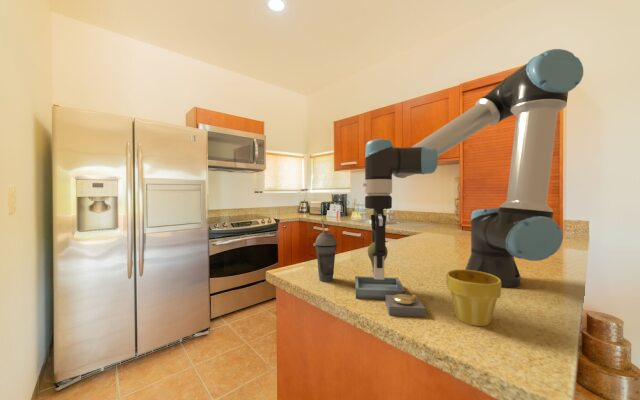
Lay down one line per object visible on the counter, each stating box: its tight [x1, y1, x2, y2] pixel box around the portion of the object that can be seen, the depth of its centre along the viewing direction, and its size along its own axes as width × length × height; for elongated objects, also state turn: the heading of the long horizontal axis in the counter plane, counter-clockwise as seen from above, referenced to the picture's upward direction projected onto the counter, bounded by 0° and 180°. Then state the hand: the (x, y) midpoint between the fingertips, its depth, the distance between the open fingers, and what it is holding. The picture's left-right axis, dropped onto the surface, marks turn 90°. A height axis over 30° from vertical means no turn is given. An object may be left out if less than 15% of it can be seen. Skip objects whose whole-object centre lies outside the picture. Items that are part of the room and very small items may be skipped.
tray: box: [354, 275, 407, 301], centre depth 74 cm, size 13×11×2 cm
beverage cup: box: [314, 218, 338, 283], centre depth 84 cm, size 7×7×20 cm
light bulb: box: [367, 242, 388, 275], centre depth 74 cm, size 6×6×10 cm
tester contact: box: [393, 293, 415, 305], centre depth 62 cm, size 5×5×1 cm
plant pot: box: [446, 269, 502, 327], centre depth 57 cm, size 10×10×10 cm
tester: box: [384, 294, 426, 318], centre depth 62 cm, size 8×7×3 cm
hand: (377, 275), depth 74 cm, fingers closed on light bulb, 6 cm apart
